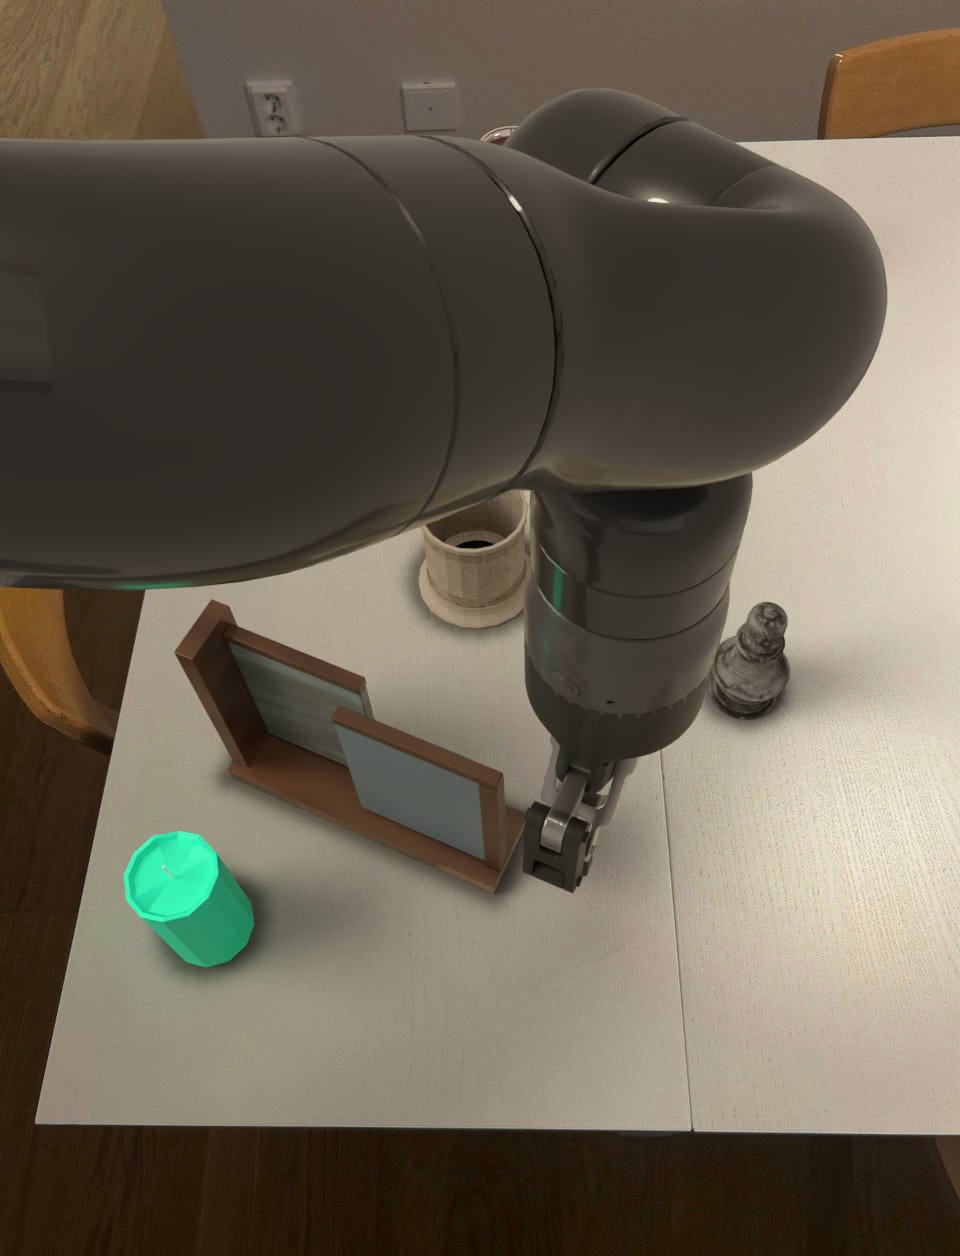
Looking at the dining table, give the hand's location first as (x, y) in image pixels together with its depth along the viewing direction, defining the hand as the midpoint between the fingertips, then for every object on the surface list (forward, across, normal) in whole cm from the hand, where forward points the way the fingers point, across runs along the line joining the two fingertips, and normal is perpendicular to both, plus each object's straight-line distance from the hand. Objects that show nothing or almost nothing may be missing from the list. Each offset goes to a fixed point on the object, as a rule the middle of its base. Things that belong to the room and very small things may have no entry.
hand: (599, 789), depth 55 cm
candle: (+23, -11, +24) cm, 35 cm away
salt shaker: (+24, +22, -5) cm, 33 cm away
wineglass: (+24, +63, +33) cm, 75 cm away
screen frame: (+23, +2, +17) cm, 29 cm away
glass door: (+21, +1, +12) cm, 24 cm away
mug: (+23, +25, +20) cm, 40 cm away
